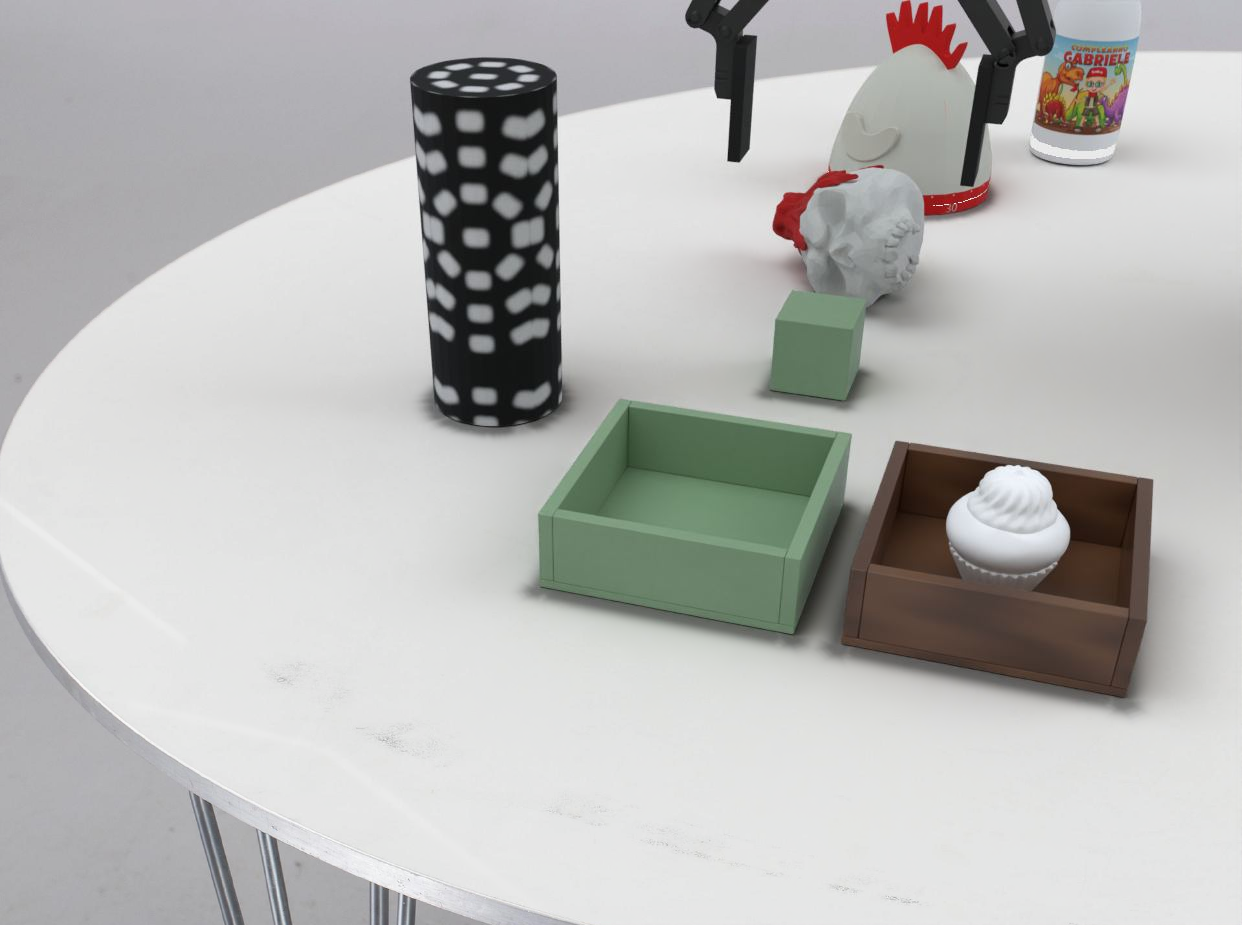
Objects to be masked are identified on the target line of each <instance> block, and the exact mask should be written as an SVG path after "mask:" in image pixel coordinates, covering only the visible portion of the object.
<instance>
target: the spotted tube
mask: <svg viewBox="0 0 1242 925" xmlns="http://www.w3.org/2000/svg"><path fill="white" fill-rule="evenodd" d="M409 85H410V97H411V99H410V100H411V111H412V112H411V113H412V124H413V136H414V137H413V138H414V139H413V140H414V149H415V150H414V151H415V163H416V176H417V177H416V178H417V188H418V189H417V190H418V191H417V192H418V203H419V204H418V205H419V216H420V228H421V242H422V255H423V268H424V270H423V271H424V282H425V295H426V309H427V321H428V334H429V347H430V359H431V360H430V362H431V373H432V386H433V400H434V404H435V406H436V408H437V409H438V410H439V411H440V412H441V414H443V415H445V416H446V417H449V418H451V419H452V420H455V421H457V422H461V423H465V424H468V425H473V426H482V427H506V426H515V425H520V424H521V425H522V424H525V423H529V422H533V421H536V420H538V419H541V418H544V417H545V416H547V415H549V414H550V413H552V412H553V411H555V410H556V409H557V408H558V407H559V406H560V404H561V402H562V400H563V354H562V353H563V352H562V348H563V347H562V344H563V343H562V298H561V297H562V295H561V293H562V292H561V291H562V290H561V236H560V234H561V233H560V230H561V229H560V183H559V181H560V180H559V177H560V176H559V175H560V174H559V124H558V123H559V122H558V120H559V118H558V76H557V72H556V71H555V70H554V69H553V68H552V67H549V66H548V65H545V64H544V63H543V64H542V63H540V62H536V61H533V60H527V59H521V58H513V57H496V56H495V57H493V56H492V57H491V56H488V57H487V56H483V57H482V56H481V57H466V58H455V59H450V60H449V59H448V60H444V61H439V62H434V63H430V64H428V65H425V66H422V67H419V68H418V69H416V70H415V71H414V72H412V73H411V74H410V77H409Z"/></svg>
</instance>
